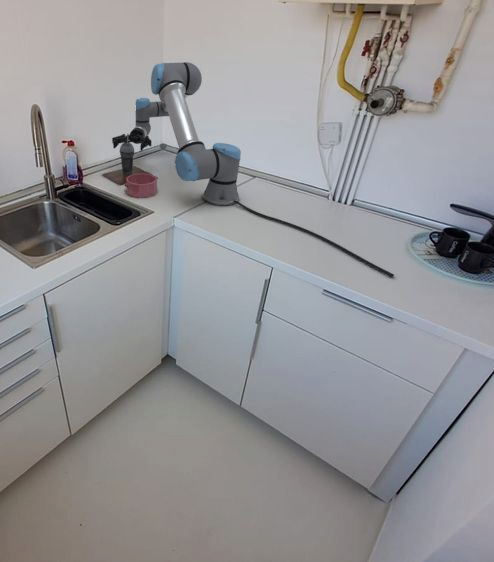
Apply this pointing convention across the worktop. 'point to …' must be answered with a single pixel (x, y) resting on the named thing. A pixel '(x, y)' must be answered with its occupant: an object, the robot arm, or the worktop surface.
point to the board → (119, 177)
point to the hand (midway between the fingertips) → (127, 146)
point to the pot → (141, 185)
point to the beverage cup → (127, 157)
